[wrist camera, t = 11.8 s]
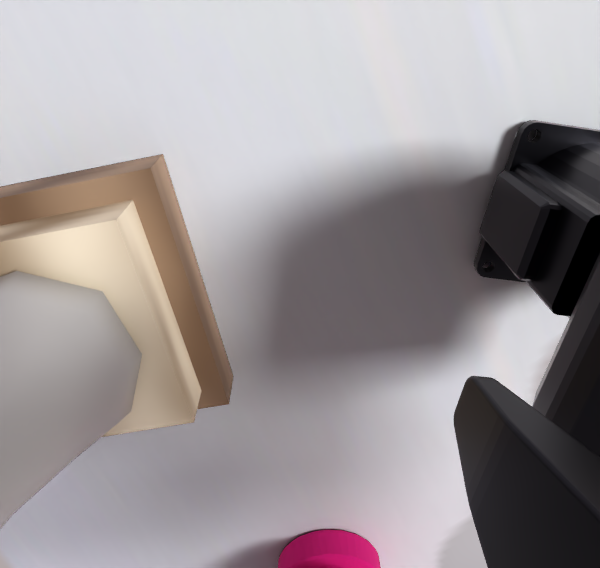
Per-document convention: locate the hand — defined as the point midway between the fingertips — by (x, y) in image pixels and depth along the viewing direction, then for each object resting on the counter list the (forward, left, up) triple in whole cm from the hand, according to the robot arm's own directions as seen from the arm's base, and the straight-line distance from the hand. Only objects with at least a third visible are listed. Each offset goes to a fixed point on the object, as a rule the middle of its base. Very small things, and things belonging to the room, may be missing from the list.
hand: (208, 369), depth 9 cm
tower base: (+7, +7, -13) cm, 16 cm away
